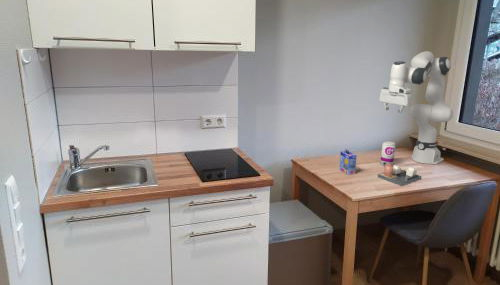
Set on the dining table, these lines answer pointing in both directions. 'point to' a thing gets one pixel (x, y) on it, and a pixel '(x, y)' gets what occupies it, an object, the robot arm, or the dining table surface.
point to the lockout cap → (388, 170)
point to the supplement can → (387, 153)
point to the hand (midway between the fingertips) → (393, 111)
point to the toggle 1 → (396, 170)
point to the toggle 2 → (411, 171)
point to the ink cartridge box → (347, 162)
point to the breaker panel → (400, 178)
